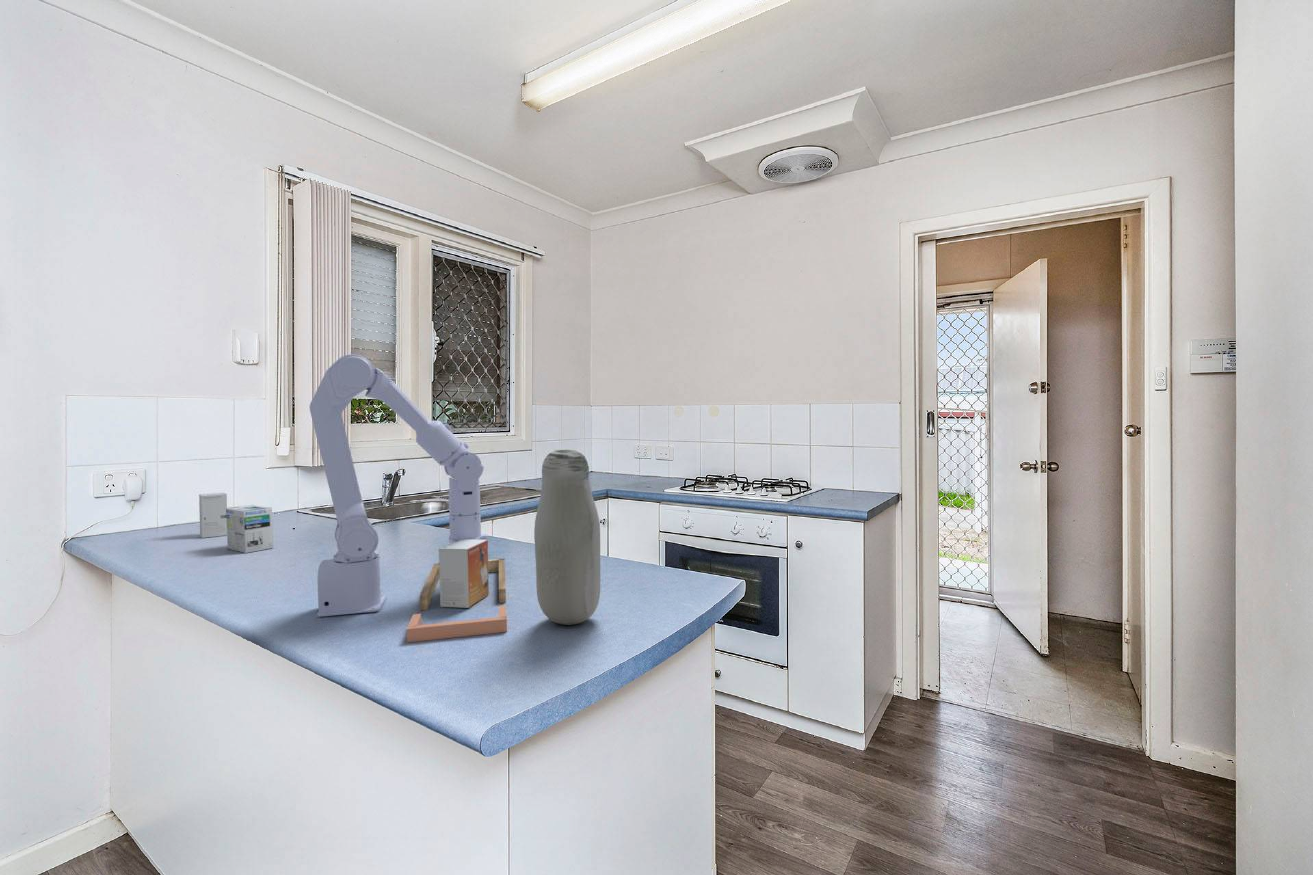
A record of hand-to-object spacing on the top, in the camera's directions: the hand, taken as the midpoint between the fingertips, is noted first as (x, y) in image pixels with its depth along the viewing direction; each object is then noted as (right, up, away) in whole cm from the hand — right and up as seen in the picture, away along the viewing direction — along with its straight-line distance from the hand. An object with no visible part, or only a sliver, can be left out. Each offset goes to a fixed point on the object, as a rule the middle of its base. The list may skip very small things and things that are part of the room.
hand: (466, 583), depth 112 cm
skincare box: (-90, 0, +54) cm, 105 cm away
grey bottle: (+22, -2, -18) cm, 29 cm away
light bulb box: (-68, -1, +37) cm, 78 cm away
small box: (+2, -2, -7) cm, 7 cm away
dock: (+6, -2, -20) cm, 21 cm away
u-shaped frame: (0, -1, +1) cm, 1 cm away
